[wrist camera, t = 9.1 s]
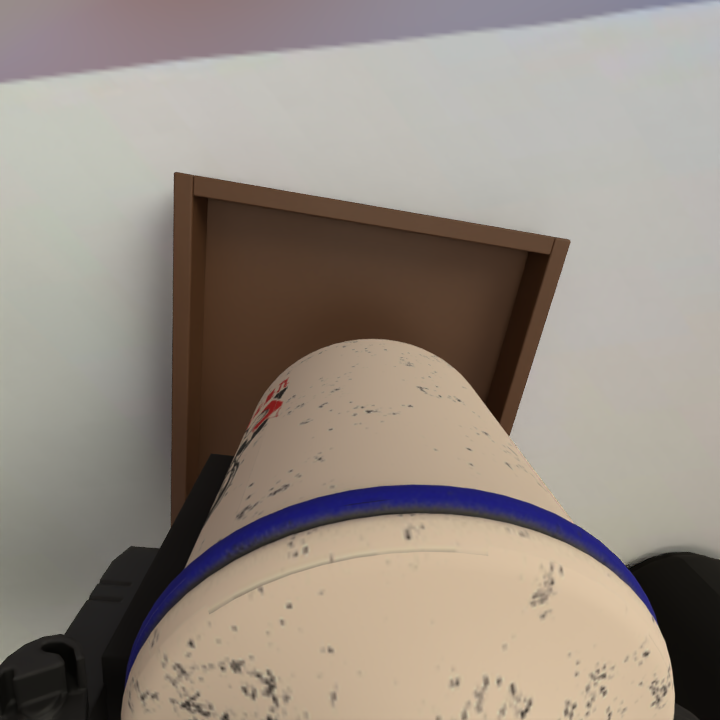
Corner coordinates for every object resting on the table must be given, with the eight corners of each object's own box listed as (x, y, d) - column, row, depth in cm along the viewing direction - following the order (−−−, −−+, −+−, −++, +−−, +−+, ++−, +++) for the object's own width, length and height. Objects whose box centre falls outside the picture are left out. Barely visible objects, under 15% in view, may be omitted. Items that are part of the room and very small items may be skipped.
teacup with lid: (232, 327, 13) (-276, 846, 2) (507, 328, 14) (1159, 780, 3) (256, 602, 17) (109, 1271, 6) (469, 597, 18) (675, 1217, 7)
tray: (187, 512, 26) (170, 545, 23) (195, 177, 20) (173, 171, 17) (455, 536, 28) (467, 569, 25) (542, 236, 21) (571, 239, 19)
